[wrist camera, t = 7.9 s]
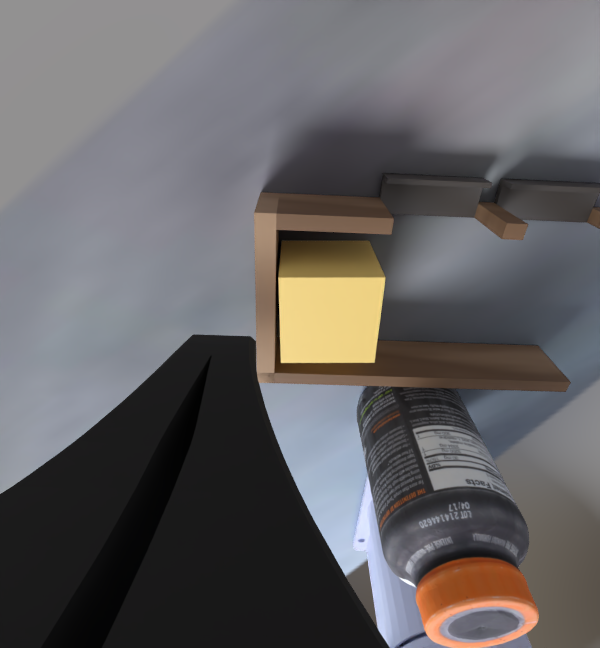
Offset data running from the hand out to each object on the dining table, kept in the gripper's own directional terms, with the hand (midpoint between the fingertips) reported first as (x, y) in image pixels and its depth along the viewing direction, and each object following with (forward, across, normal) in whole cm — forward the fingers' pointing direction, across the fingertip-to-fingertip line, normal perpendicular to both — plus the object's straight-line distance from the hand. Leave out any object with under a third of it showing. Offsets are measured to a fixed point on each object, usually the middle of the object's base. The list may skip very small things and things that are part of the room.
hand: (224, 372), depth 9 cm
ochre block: (+10, -3, +3) cm, 11 cm away
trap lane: (+10, -7, +3) cm, 13 cm away
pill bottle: (+11, -8, +10) cm, 17 cm away
